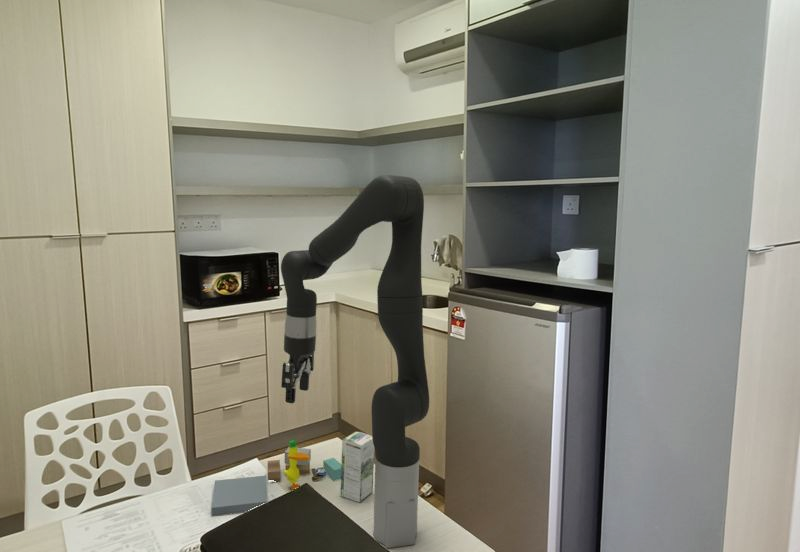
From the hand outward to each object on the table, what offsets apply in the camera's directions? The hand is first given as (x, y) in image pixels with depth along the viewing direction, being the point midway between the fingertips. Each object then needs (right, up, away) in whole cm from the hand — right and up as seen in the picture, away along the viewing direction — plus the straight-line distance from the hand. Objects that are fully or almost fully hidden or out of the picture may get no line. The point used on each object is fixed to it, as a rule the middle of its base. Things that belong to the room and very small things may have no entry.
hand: (297, 395), depth 132 cm
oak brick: (-1, -21, +7) cm, 23 cm away
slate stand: (-12, -23, -6) cm, 27 cm away
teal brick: (+8, -22, +7) cm, 24 cm away
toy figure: (0, -23, -1) cm, 23 cm away
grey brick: (-1, -18, +7) cm, 20 cm away
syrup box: (+15, -23, -3) cm, 28 cm away
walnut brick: (-7, -22, +5) cm, 23 cm away
